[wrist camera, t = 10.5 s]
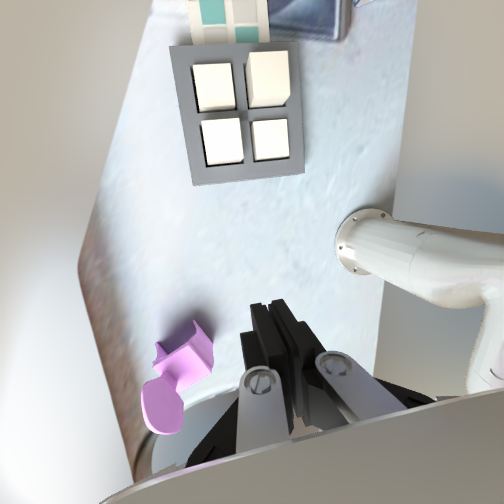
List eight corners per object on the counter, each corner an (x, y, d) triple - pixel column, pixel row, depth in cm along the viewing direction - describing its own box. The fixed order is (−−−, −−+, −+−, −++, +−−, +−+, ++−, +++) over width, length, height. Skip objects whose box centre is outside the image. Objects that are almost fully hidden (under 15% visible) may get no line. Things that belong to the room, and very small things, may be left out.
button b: (236, 126, 33) (239, 117, 30) (240, 161, 35) (243, 157, 31) (202, 129, 33) (201, 120, 29) (208, 165, 34) (207, 161, 30)
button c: (278, 67, 32) (287, 50, 29) (281, 106, 34) (290, 94, 30) (245, 69, 32) (249, 52, 28) (249, 108, 33) (253, 97, 29)
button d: (228, 78, 34) (230, 63, 30) (232, 114, 35) (235, 104, 31) (195, 80, 33) (192, 65, 29) (200, 117, 34) (199, 107, 30)
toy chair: (218, 345, 44) (219, 418, 30) (178, 370, 44) (161, 454, 30) (193, 313, 42) (182, 375, 28) (151, 339, 42) (119, 414, 27)
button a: (279, 127, 36) (286, 118, 32) (281, 159, 38) (289, 155, 34) (249, 129, 36) (253, 121, 32) (252, 162, 37) (256, 158, 33)
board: (286, -2, 33) (294, -25, 29) (297, 174, 39) (304, 172, 36) (162, -1, 31) (156, -25, 27) (194, 186, 37) (192, 185, 33)
